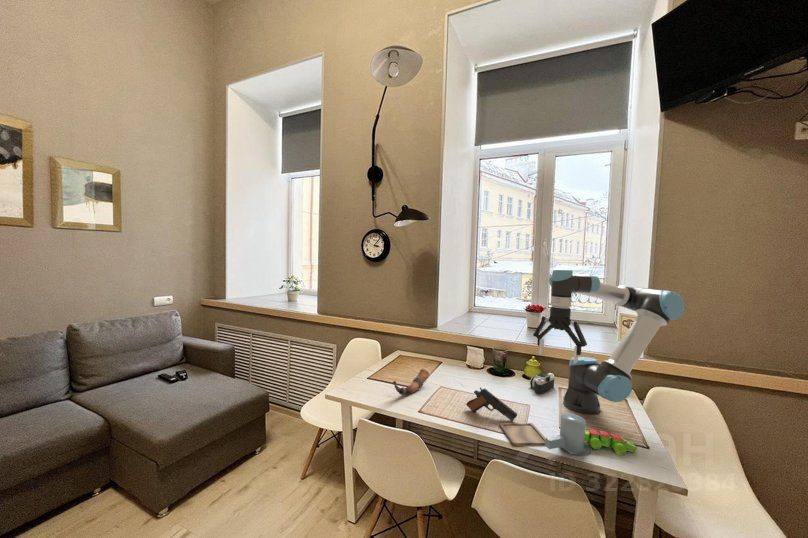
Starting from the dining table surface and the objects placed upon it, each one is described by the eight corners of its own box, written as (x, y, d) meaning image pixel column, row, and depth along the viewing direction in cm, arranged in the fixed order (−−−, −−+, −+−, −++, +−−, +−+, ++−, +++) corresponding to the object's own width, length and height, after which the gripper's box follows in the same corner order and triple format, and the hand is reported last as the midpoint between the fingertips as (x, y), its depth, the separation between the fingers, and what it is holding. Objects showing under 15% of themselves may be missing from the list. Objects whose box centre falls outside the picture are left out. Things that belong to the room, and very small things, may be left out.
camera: (541, 383, 177) (541, 366, 176) (556, 389, 170) (557, 370, 170) (525, 390, 167) (526, 372, 166) (541, 396, 160) (542, 377, 160)
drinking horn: (430, 385, 170) (431, 366, 169) (397, 404, 146) (398, 383, 146) (421, 382, 173) (422, 364, 172) (388, 401, 149) (388, 380, 149)
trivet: (579, 438, 123) (579, 436, 123) (598, 456, 112) (598, 453, 112) (552, 438, 123) (552, 436, 122) (568, 456, 112) (568, 454, 112)
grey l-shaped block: (571, 440, 120) (572, 411, 120) (589, 453, 113) (591, 422, 112) (538, 446, 115) (540, 417, 115) (555, 460, 108) (557, 428, 107)
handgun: (466, 403, 145) (479, 383, 142) (503, 433, 137) (518, 413, 134) (464, 405, 143) (478, 385, 140) (502, 436, 135) (517, 415, 132)
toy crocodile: (630, 448, 118) (632, 433, 118) (639, 459, 112) (641, 443, 111) (572, 435, 123) (574, 420, 122) (577, 445, 116) (580, 429, 116)
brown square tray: (531, 425, 132) (532, 422, 132) (549, 445, 118) (549, 442, 118) (499, 425, 131) (499, 423, 131) (512, 445, 117) (513, 443, 117)
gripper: (526, 303, 136) (524, 352, 137) (591, 312, 118) (588, 368, 119) (534, 302, 141) (532, 349, 142) (597, 310, 123) (594, 364, 124)
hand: (557, 358), depth 130 cm, fingers open, 13 cm apart
